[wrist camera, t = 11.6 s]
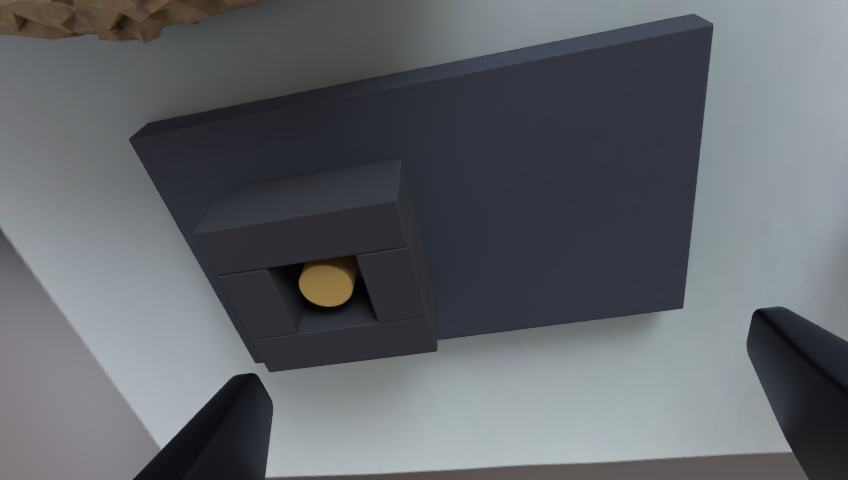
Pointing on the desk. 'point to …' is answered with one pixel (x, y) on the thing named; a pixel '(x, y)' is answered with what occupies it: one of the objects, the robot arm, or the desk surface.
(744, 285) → the desk surface
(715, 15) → the desk surface
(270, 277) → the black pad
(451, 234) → the base pad
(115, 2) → the sponge
